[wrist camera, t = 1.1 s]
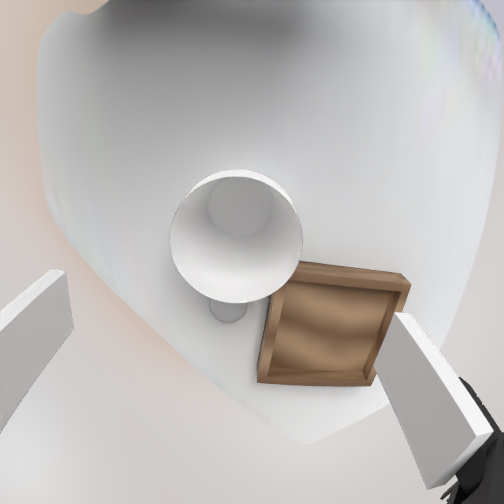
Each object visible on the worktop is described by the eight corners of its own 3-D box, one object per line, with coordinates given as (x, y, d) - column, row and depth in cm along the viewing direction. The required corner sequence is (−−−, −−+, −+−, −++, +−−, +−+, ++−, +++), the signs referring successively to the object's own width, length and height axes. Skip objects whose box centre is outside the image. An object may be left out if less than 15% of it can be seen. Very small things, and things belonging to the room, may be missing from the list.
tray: (277, 258, 34) (279, 269, 31) (400, 273, 34) (411, 284, 32) (256, 366, 39) (257, 382, 36) (364, 371, 39) (370, 386, 37)
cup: (300, 223, 32) (326, 269, 21) (224, 263, 34) (212, 324, 22) (258, 145, 30) (264, 147, 18) (179, 189, 31) (141, 218, 20)
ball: (213, 276, 34) (208, 293, 30) (249, 280, 34) (249, 298, 31) (210, 307, 36) (206, 327, 32) (245, 312, 36) (244, 331, 32)
